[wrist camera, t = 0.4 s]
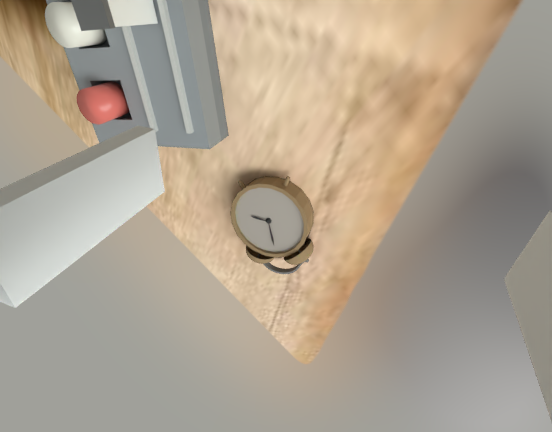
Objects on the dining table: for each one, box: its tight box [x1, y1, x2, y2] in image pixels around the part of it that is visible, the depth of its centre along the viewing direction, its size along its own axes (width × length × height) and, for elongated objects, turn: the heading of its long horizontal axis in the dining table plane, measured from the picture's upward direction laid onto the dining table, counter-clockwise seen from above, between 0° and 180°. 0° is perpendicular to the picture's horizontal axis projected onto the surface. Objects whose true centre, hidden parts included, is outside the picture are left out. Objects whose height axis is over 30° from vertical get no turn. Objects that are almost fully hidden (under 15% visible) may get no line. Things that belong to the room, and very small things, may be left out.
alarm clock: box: [230, 176, 314, 274], centre depth 46 cm, size 11×5×15 cm
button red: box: [77, 82, 129, 125], centre depth 38 cm, size 4×4×4 cm
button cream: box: [45, 2, 107, 48], centre depth 34 cm, size 4×4×4 cm
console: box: [46, 0, 228, 149], centre depth 37 cm, size 19×17×6 cm
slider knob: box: [71, 0, 158, 31], centre depth 29 cm, size 3×3×7 cm
